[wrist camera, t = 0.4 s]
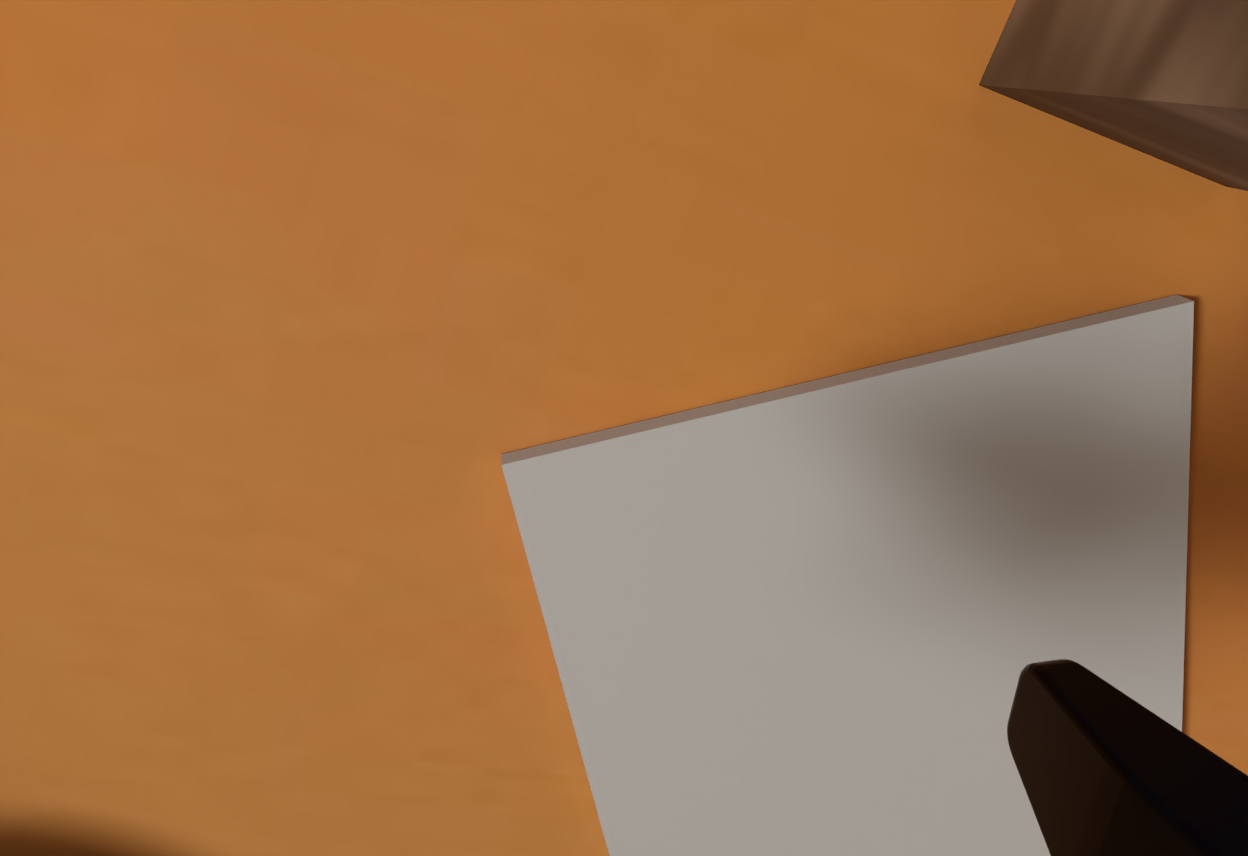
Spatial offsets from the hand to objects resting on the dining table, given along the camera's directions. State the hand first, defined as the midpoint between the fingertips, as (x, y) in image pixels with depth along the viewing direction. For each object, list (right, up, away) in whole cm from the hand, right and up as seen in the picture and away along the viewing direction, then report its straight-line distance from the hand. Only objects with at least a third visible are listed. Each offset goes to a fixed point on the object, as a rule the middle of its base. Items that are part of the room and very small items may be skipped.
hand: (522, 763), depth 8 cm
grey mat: (+8, -4, +17) cm, 19 cm away
